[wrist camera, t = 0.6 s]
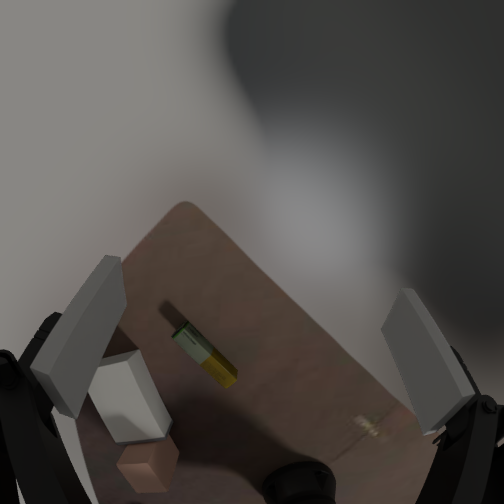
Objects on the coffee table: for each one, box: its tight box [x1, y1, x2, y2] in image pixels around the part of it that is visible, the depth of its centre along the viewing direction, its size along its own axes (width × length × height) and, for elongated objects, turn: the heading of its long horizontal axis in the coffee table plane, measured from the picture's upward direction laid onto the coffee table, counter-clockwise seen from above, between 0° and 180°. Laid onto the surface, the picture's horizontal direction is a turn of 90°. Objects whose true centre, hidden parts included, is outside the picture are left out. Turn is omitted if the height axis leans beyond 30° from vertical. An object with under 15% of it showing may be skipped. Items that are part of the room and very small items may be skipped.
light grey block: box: [88, 349, 173, 445], centre depth 42 cm, size 15×10×6 cm
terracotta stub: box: [116, 434, 180, 493], centre depth 39 cm, size 7×6×12 cm
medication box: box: [171, 320, 238, 389], centre depth 43 cm, size 12×3×4 cm, turn 43°
